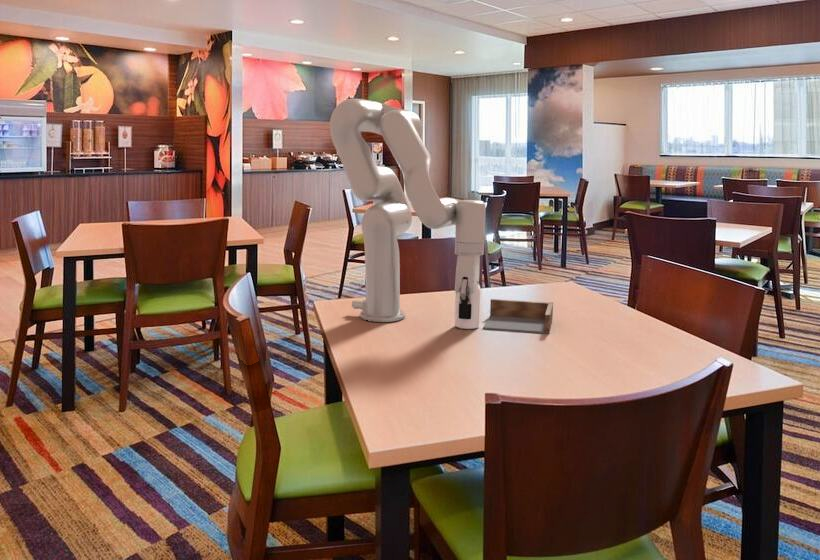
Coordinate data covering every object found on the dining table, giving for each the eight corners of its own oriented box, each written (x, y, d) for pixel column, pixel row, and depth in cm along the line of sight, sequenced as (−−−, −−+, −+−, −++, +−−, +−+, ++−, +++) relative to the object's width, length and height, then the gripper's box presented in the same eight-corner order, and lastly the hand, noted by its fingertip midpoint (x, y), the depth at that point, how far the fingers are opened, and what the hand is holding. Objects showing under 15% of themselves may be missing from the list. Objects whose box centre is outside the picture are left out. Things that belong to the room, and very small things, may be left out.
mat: (482, 329, 175) (483, 327, 175) (490, 316, 188) (490, 314, 188) (549, 333, 170) (549, 331, 170) (552, 320, 184) (552, 318, 184)
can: (477, 330, 173) (479, 285, 171) (453, 328, 174) (454, 283, 172) (480, 324, 179) (482, 280, 177) (456, 322, 181) (457, 279, 178)
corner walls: (482, 329, 175) (483, 310, 174) (490, 316, 188) (491, 298, 187) (549, 333, 170) (550, 314, 169) (552, 320, 184) (553, 302, 183)
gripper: (461, 242, 182) (459, 306, 185) (448, 252, 165) (446, 322, 169) (488, 244, 180) (486, 308, 184) (478, 254, 164) (475, 324, 167)
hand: (467, 314), depth 176 cm, fingers closed on can, 6 cm apart
